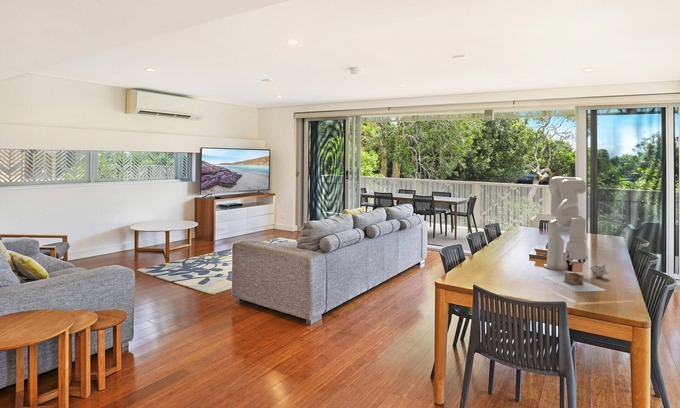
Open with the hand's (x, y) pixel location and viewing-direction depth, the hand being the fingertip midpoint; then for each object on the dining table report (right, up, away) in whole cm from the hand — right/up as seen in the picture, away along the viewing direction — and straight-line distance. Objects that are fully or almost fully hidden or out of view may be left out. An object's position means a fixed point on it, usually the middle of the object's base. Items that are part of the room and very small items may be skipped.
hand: (574, 270), depth 237 cm
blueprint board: (0, -8, +1) cm, 8 cm away
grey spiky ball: (+25, -7, +18) cm, 31 cm away
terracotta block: (0, 0, 0) cm, 0 cm away
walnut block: (0, -7, +1) cm, 7 cm away
